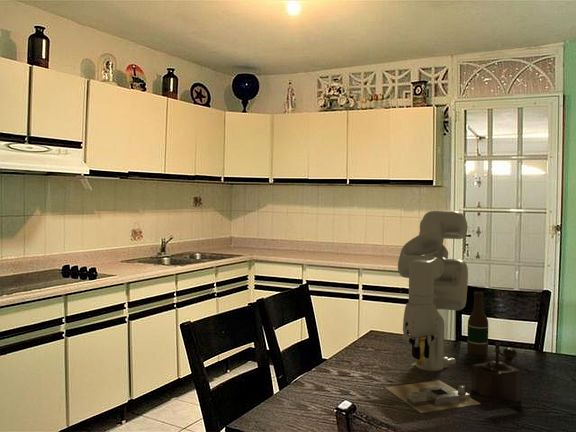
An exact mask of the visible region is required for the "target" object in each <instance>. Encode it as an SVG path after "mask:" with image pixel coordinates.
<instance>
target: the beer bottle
mask: <svg viewBox="0 0 576 432" xmlns="http://www.w3.org/2000/svg"><path fill="white" fill-rule="evenodd" d="M473 296H474V298H473V305H472V306H473V307H472V312H471V314H470V315H469V317H468V320H467V336H466V337H467V342H466V343H467V344H466V345H467V348H466V350H467V351H466V352H467V353H468V354H470V355H472V354H473V355H474V356H481V357H482V356H487V354H488V351H489V319H488V316H487V315H486V314H485V311H484V292H483V291H474V292H473ZM473 355H472V356H473Z"/></svg>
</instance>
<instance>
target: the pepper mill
mask: <svg viewBox="0 0 576 432" xmlns="http://www.w3.org/2000/svg"><path fill="white" fill-rule="evenodd" d="M494 347H495V348H494V351H495V359H494V360H489V361H486V362H483V363H476V364H472V366H471V367H472V368H471V391H472V392H473V391H474V392H475V393H477V394H478V395H482V396H484V397H486V398H488V399H490V400H492V401H495V402H502V401H506V400H507V401H508V400H509V401H511V402H513V404H514V403H519V402H521V401H522V384H523V382H522V381H523V370H520V369H518V368H516V367H513V365H514V362H515V361H514V359H516V358H517V357H518V352H517V350H516V349H514V348H513V347H506V348H504V349H503V351H501V349H500V347H501V345H500V344H499V343H496V344H495V346H494ZM500 356H502V357H504V359H503V360H502V361H500V359H499V358H500Z"/></svg>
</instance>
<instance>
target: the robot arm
mask: <svg viewBox="0 0 576 432" xmlns="http://www.w3.org/2000/svg"><path fill="white" fill-rule="evenodd" d="M467 234H468V221H467V219H466V216H464V214H463V213H462V212H460V211H457V210H431V211H428V212H426V213H424V215H423V217H422V219H421V220H420V222H419V233H418V235H417V236H415V237H413V238H412V239H410V240H409V241H407V242H406V243H405V244H404V245H403V246H402V248H401V250H400V254H399V257H398V260H397V270H398V275H400V276H401V277H402V278H405V279H408V302H407V303H405V306H404V313H403V320H402V336H401V338H402V340H404V341H407V342H408V343H409V344H410V345H411V355H412V358H414V359H415V360H416V359H417V360H419V359H420V347H418V343H419V337H423V336H426V340H425V365H422V366H421V365H417V364H416V362H414V363H412V364H411V366H415V367H416V368H418V369H419V370H422V371H429V372H437V371H442V370H444V368H447V369H448V365H454V364H455V365H456V363H457V362H456V361H457V360H456V359H455V357H454V358H453V357H450V358H449V357H447V356H445V320H444V318H443V316H442V314H441V313H440V312H439V311H438V310H447V311H461V310H463V309H464V308H465V307H466V304H467V298H468V297H467V295H468V283H469V282H468V281H469V271H468V270H469V269H468V265H467V263H466V262H465V260H461V259H457V258H449V251H448V248H447V247H446V246H445V245H444V239H446V240H448V239H449V240H451V239H452V240H463V239H465V237H466V236H467Z"/></svg>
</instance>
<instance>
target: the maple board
mask: <svg viewBox="0 0 576 432" xmlns="http://www.w3.org/2000/svg"><path fill="white" fill-rule="evenodd" d="M437 386H444V387H445V388H447V389H449V390H451V391H452V392H453V391H458V389H456V388H454V387H452V386H451V385H448V384H446V383H445V382H443V381H441V380H440V379H439V380H432V381H430V380H429V381H423V382H417V383H409V384H400V385H393V386H392V385H391V386H385V389H387V390H388V391H389V392H390V393H392V394H394V395H395V396H396V397H398V398H399V399H400V400H402V401H403V402H405V403H406V404H408V405H410V406H411V408H413V409H415V410H416V411H418V412H419V413H420V414H423V413H424V414H425V413H428V412H429V413H430V412H436V411H437V412H438V411H444V410H448V409H456V408H457V409H458V408H462V407H470V406H471V407H472V406H475V405H476V406H477V405H481V404H482V403H481V402H479V401H477V400H475V399H474V398H472V397H470V399H464V400H459V404H454V405H447V406H440V407H434V406H433V405H431V404H429V405H422V406H415V407H414V406H413V405H411V404H410V403H408V402H407V394H409V393H412V392H420V389H422V388H430V387H437Z"/></svg>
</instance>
